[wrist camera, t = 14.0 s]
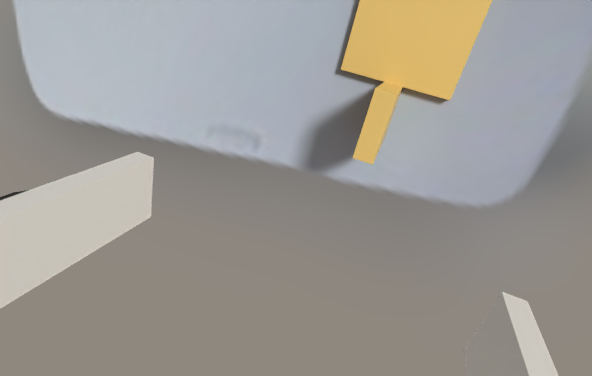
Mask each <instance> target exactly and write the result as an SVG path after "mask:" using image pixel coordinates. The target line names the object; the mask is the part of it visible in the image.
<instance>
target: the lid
mask: <svg viewBox="0 0 592 376" xmlns="http://www.w3.org/2000/svg"><path fill="white" fill-rule="evenodd" d="M491 2H492V0H360V2H359V5H358V9H357V12H356V16H355V20H354V23H353V27H352V30H351V34H350V38H349V41H348V45H347V48H346V52H345V56H344V59H343V63H342V67H341V70H344V71H348V72H352V73H355V74H359V75H362V76H366V77H369V78H373V79H376V80H380V81H383V83H382V84H381V85H379V86H378V87H376V88H375V91H374V94H373V97H372V100H371V103H370V106H369V109H368V112H367V115H366V118H365V121H364V124H363V127H362V130H361V133H360V137H359V140H358V143H357V146H356V149H355V152H354V155H353V158H354V159H357V160H360V161H363V162H366V163H369V164H372V165H373V163H374V161H375V158H376V156H377V154H378V152H379V150H380V148H381V145H382V143H383V140H384V138H385V135H386V132H387V129H388V127H389V124H390V121H391V118H392V115H393V113H394V110H395V107H396V104H397V102H398V99H399V96H400V93H401V90H402V88H403V87H404V88H408V89H411V90H415V91H418V92H422V93H425V94H429V95H433V96H436V97H440V98H443V99H447V100H450V99H451V96H452V94H453V92H454V89H455V87H456V85H457V82H458V80H459V78H460V75H461V73H462V71H463V68H464V66H465V63H466V61H467V59H468V56H469V54H470V52H471V49H472V47H473V45H474V42H475V40H476V38H477V35H478V33H479V31H480V28H481V26H482V24H483V21H484V19H485V16H486V14H487V12H488V9H489V7H490V5H491Z"/></svg>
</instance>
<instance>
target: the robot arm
mask: <svg viewBox="0 0 592 376" xmlns="http://www.w3.org/2000/svg"><path fill="white" fill-rule="evenodd" d="M153 165H154V158H153V157H150V156H148V155H145V154H142V153H140V152H136V153H133V154H130V155H127V156H124V157H122V158H119V159H116V160H113V161H110V162H107V163H105V164H102V165H99V166H96V167H93V168H91V169H88V170H85V171H82V172H79V173H77V174H74V175H71V176H68V177H65V178H62V179H60V180H57V181H54V182H51V183H48V184H45V185H43V186H40V187H37V188H34V189H31V190H27V191H21V192H15V193H11V194H8V195H5V196H3V197H0V308H2V307H4V306H5V305H7V304H8V303H10V302H12V301H13V300H15V299H17V298H18V297H20V296H21V295H23V294H25V293H26V292H28V291H30V290H31V289H33V288H35V287H36V286H38V285H40V284H41V283H43V282H45V281H46V280H48V279H49V278H51V277H53V276H54V275H56V274H58V273H59V272H61V271H63V270H64V269H66V268H68V267H69V266H71V265H72V264H74V263H76V262H77V261H79V260H81V259H82V258H84V257H86V256H87V255H89V254H90V253H92V252H94V251H95V250H97V249H98V248H100V247H102V246H103V245H105V244H107V243H109V242H110V241H112V240H113V239H115V238H117V237H118V236H120V235H121V234H123V233H125V232H127V231H128V230H130V229H131V228H133V227H135V226H136V225H138V224H140V223H141V222H143V221H145V220H146V219H148V218H149V217H151V204H152V184H153ZM464 356H465V364H466V372H467V376H558V374H557V371H556V369H555V367H554V364H553V362H552V360H551V357H550V354H549V352H548V350H547V347H546V345H545V343H544V340H543V338H542V335H541V333H540V330H539V328H538V326H537V323H536V321H535V318H534V316H533V313H532V311H531V309H530V306H529V304H528V302H527V301H525V300H522V299H520V298H517V297H514V296H512V295H509V294H507V293H504V292H501V294H500V295H499V297H498V298H497V300H496V301H495V303H494V304H493V306H492V307H491V309H490V311H489V312H488V314H487V315H486V317H485V318H484V320H483V321H482V323H481V325H480V326H479V327H478V329H477V330H476V332H475V334H474V335H473V337H472V338H471V340H470V342H469V343H468V344H467V346H466V348H465V349H464Z"/></svg>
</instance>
